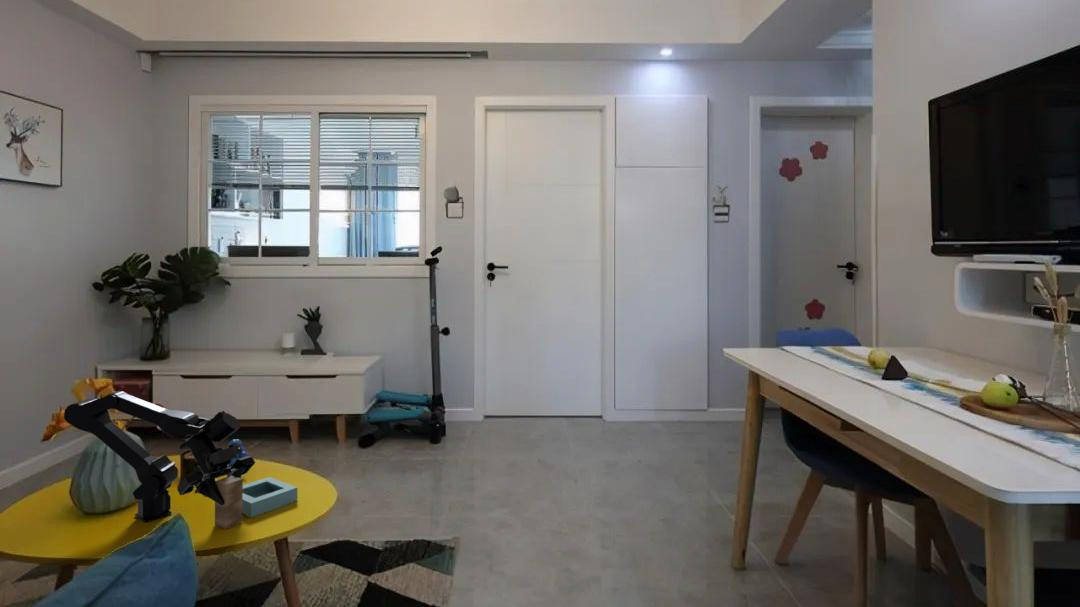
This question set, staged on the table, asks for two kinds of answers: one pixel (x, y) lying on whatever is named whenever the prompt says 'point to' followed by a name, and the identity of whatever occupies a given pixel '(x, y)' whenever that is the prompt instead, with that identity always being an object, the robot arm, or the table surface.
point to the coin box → (266, 496)
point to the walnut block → (229, 502)
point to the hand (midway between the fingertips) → (232, 500)
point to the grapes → (238, 454)
